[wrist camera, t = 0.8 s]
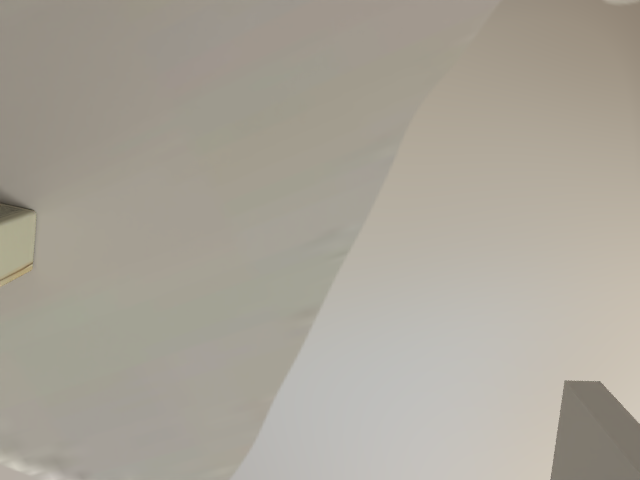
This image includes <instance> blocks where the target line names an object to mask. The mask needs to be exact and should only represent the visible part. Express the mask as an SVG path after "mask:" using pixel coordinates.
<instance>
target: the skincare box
mask: <svg viewBox="0 0 640 480" xmlns="http://www.w3.org/2000/svg"><path fill="white" fill-rule="evenodd" d="M35 230H36V212H35V211H33V210H29V209H24V208H19V207H15V206H10V205H5V204H0V287H1V286H3V285H5V284H7V283H9V282H11V281H12V280H14V279H16V278H18V277H20V276H22V275H23V274H25V273H27V272H29V271H31V270H32V267H33V256H34V243H35Z"/></svg>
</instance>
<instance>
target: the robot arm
mask: <svg viewBox="0 0 640 480" xmlns="http://www.w3.org/2000/svg"><path fill="white" fill-rule="evenodd" d="M551 480H640V424H639V423H638V422H637V421H636V420H635V419H634V417H633V416H632V415H631V414H630V413H629V412H628V411H627V410H626V409H625V408H624V407H623V406H622V405H621V403H620V402H619V401H618V400H617V399H616V398H615V397H614V396H613V395H612V394H611V393H610V392H609V391H608V390H607V389H606V387H605V386H604V385H603V384H602V383H601V382H599V381H597V382H596V381H595V382H594V381H565V382H564V389H563V397H562V403H561V410H560V418H559V424H558V431H557V438H556V445H555V452H554V459H553V466H552V473H551Z"/></svg>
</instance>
